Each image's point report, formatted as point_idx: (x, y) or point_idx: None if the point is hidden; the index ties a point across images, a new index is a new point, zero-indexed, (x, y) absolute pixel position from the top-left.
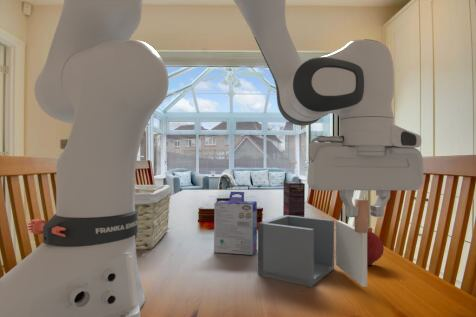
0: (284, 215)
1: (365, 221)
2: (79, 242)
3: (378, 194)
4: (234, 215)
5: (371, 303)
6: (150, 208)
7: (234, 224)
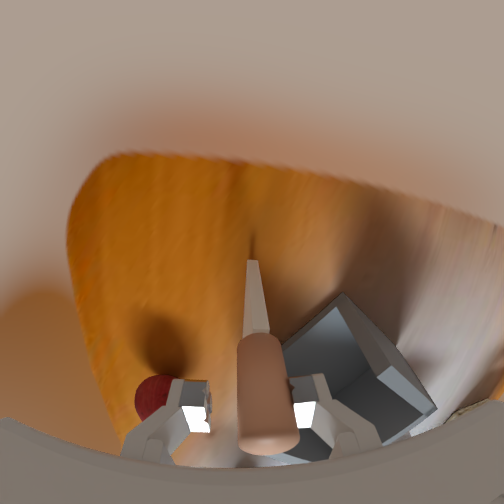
0: None
1: (259, 359)
2: None
3: (172, 463)
4: None
5: (267, 204)
6: None
7: None
